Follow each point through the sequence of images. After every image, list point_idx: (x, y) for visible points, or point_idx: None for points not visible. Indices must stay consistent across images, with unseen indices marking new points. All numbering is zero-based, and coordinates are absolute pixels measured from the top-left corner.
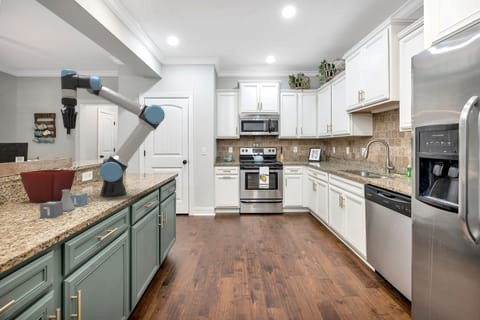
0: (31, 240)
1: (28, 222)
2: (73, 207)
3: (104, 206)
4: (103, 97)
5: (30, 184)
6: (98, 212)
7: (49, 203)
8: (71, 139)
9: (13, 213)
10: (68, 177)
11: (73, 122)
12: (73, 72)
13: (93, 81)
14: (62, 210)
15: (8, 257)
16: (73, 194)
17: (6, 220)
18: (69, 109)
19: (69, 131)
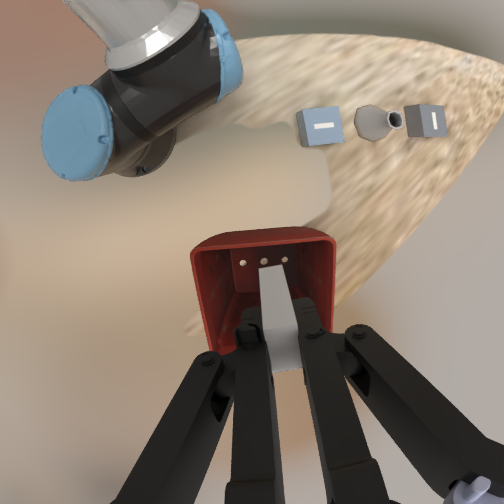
0: (498, 78)
1: (454, 135)
2: (367, 107)
3: (312, 53)
4: None
5: (318, 301)
6: (372, 40)
7: (438, 121)
8: (282, 269)
9: (407, 219)
10: (240, 237)
11: (241, 400)
12: None
13: None
14: (409, 106)
15: None
16: (329, 138)
17: (449, 185)
18: None
19: (311, 312)
